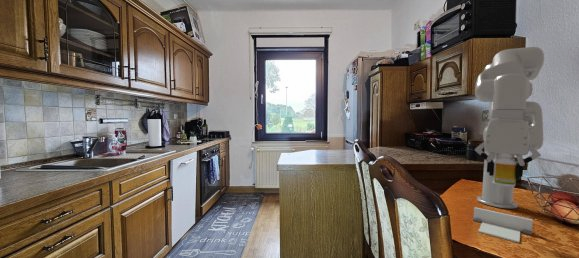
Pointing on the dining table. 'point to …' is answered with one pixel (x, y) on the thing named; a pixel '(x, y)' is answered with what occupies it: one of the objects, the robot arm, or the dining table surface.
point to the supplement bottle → (504, 170)
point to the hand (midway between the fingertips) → (503, 176)
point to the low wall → (503, 220)
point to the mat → (500, 232)
